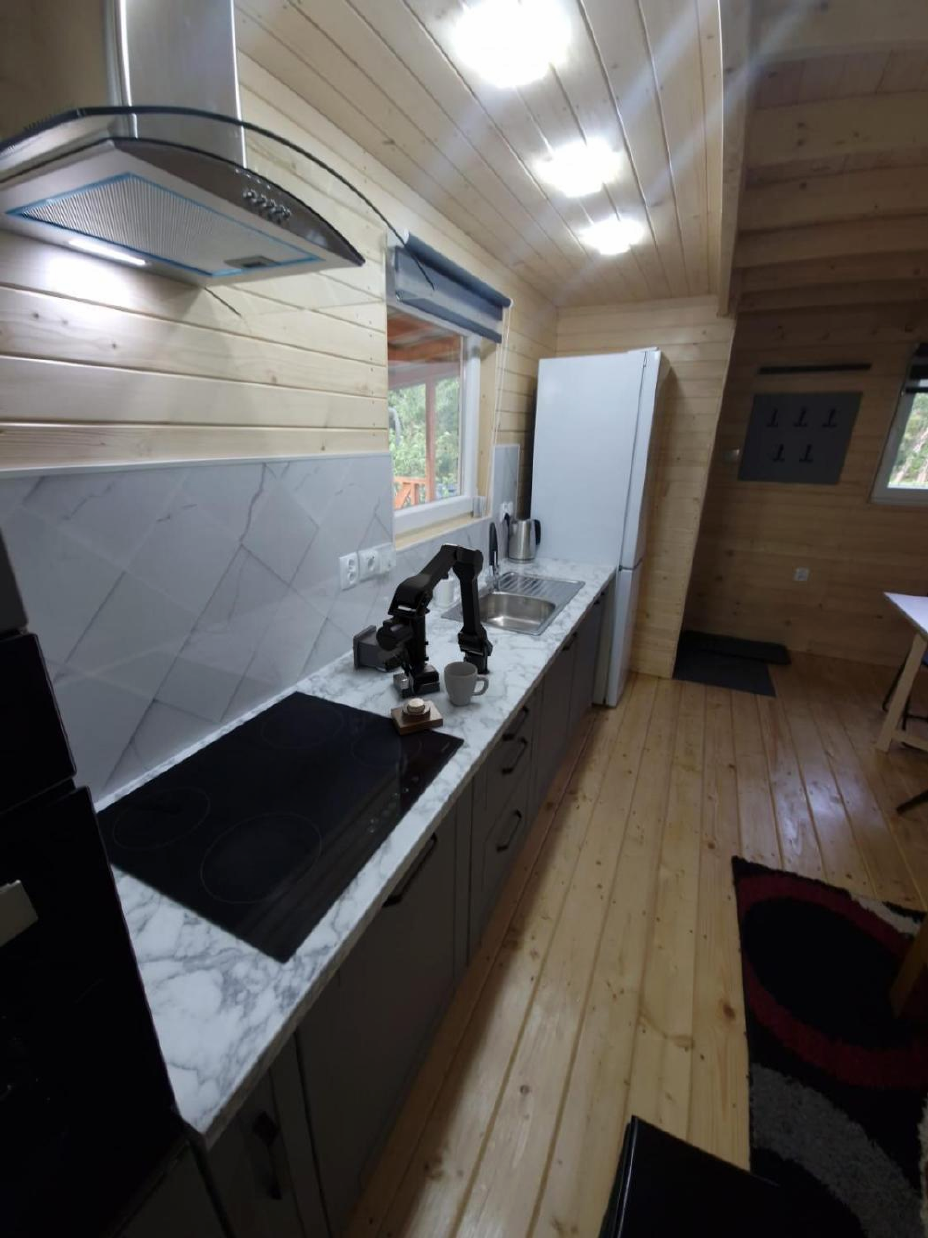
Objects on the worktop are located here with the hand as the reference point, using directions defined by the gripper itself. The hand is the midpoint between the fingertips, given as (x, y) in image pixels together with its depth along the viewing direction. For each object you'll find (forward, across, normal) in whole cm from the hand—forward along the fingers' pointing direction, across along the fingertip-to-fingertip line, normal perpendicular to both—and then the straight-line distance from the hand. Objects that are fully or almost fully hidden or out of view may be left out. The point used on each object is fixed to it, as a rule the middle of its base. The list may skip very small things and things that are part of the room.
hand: (415, 692), depth 122 cm
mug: (+8, -4, +16) cm, 18 cm away
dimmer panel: (+8, -16, +5) cm, 19 cm away
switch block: (+8, 0, 0) cm, 8 cm away
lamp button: (+5, 0, 0) cm, 5 cm away
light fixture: (+8, -33, -1) cm, 34 cm away
